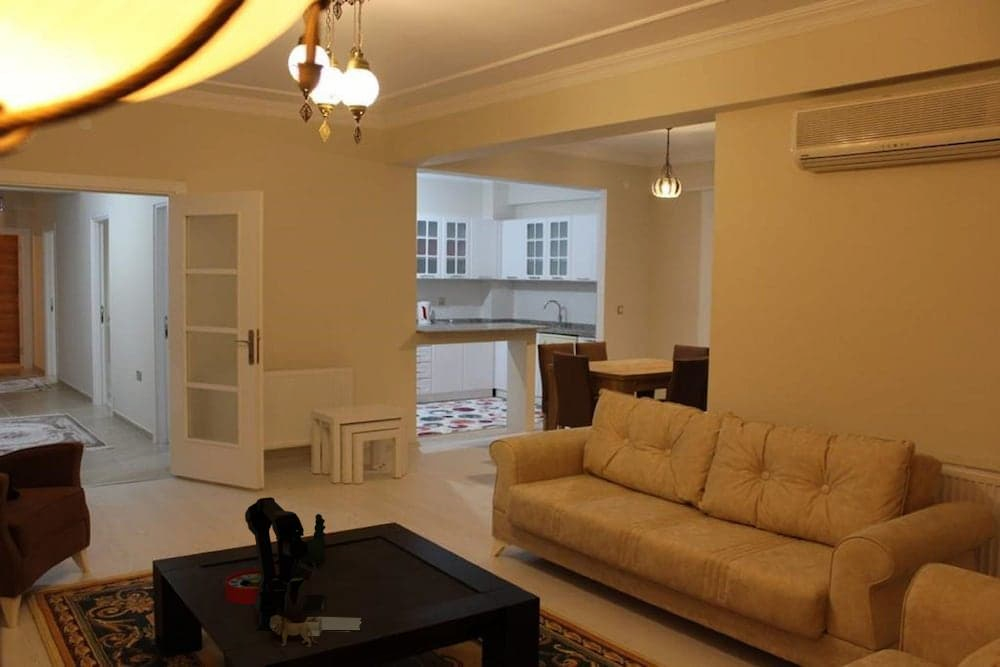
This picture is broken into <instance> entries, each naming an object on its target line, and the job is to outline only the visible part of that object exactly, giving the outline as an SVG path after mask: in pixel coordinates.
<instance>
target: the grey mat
mask: <svg viewBox="0 0 1000 667" xmlns="http://www.w3.org/2000/svg"><path fill="white" fill-rule="evenodd" d="M321 617H322V630H360V628H359V627H360V626H359V625H360V624H361V623H362V622H361V621H360V620H361V618H362V617H339V616H334V617H333V616H321Z"/></svg>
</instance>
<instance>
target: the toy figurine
mask: <svg viewBox="0 0 1000 667" xmlns="http://www.w3.org/2000/svg"><path fill="white" fill-rule="evenodd" d="M325 520H326V519H324V518H323V515H322V514H321V513H317V514H316V515H315V524H314V526H313V527H314V532H313V538H311V539H307V540H305V541H304V542H306V544H307V546H308V552H307V554H306V556H305V557H304V558H302V559H300V562H303V563H306V564H308V563H309V562H310V561H313V562H315V564H316V565H317V564H319V563H318V562H322V563H324V560H323V558H325V554H326V550H325V547H324V545H325V544H326V542H325V538H324V537H326V536H327V535H326V534H327V533H325V532H324V530H325V529H326V526H325V525H324V524H325Z"/></svg>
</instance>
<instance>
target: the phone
mask: <svg viewBox="0 0 1000 667" xmlns="http://www.w3.org/2000/svg"><path fill="white" fill-rule="evenodd" d="M327 598H328V596H327V594H305V595H304V596H303V599H302V602H301V607H300V609H299V611H301V612H322V613H324V612H325V609H326V608H325V607H326V604H325V603H327ZM324 608H325V609H324ZM323 611H324V612H323ZM301 612H300V613H301Z"/></svg>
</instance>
